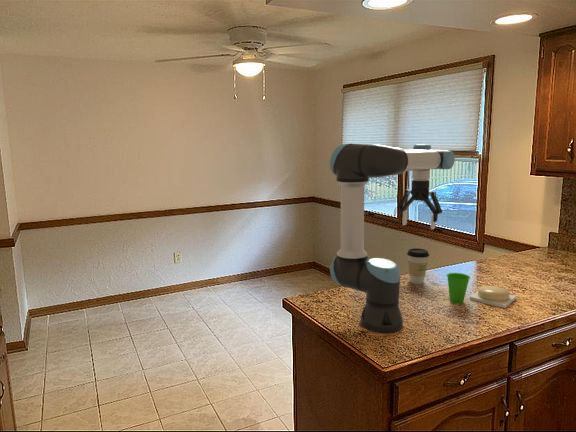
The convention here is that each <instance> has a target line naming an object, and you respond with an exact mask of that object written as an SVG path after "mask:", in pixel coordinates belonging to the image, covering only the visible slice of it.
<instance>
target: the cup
mask: <svg viewBox="0 0 576 432" xmlns="http://www.w3.org/2000/svg"><path fill="white" fill-rule="evenodd" d="M446 278H447V285H448V294H449V302H450V303H452V304H456V305H460V304H463V303H464V301H465V298H466V293H467V290H468V285H469V281H470V279H471V277H470V275H468V274H465V273H462V272H449V273H447V274H446Z"/></svg>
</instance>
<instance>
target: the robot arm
mask: <svg viewBox="0 0 576 432" xmlns="http://www.w3.org/2000/svg"><path fill="white" fill-rule="evenodd" d="M455 159H456V158H455V154H454V152H453V150H448V149H444V150H443V149H442V150H441V149H432V146H431V144H429V143H427V144H426V143H425V144H423V143H421V144H419V143H418V144H414V145H413V149H403V148H401V147H393V146H388V145H383V144H375V143H373V144H370V143H368V144H367V143H366V144H365V143H343V144H339V145H338V146H336V148H335V149H334V150H333V151H332V153H331V155H330V159H329V168H330V170H331V172H332V174H333V175H334V176H336V183H338V184H339V185H340V248H339V250H338V251H337V252H336V255H335V256H334V257H333V258H332V260H331V263H330V266H329V272H330V277H331V278H332V281H333V282H334V283H336V284H337V285H339V286H341V287H343V288H345V289H347V288H348V289H351V290H354V291H359V292H361V293H363V294H364V293H365V304H364V306H363V310H362V312H361V314H360V325H361V327H363V328H364V329H366V330H369V331H371V332H375V333H381V334H382V333H384V334H387V333H395V332H398V331H400V330H402V329H403V327H404V318H403V315H402V312H401V308H400V289H401V288H400V286H401V285H400V284H401V269H400V267H399V265H398V264H397V263H396V262H394V261H392V260H390V259H386V258H380V257H373V258H370V259H369V258H368V256H369V255H368V252H367V251H366V250H365V249H364V248H365V247H364V246H365V241H364V239H365V186H367V184H368V183H369V182H370V178H371V179H374V178H384V177H389V176H397V175H401V174H403V173H404V172H412V173H411V179H412V180H411V190H410V189H409V188H408V189H407V188H406V189H405V190H404V194H403V196H402V198H401V199H400V201H399V203H398V205H397V209H398V210H400V211H401V212H400V213H401V215H400V217H401V218H402V226H405V225H408V210H407V209H408V208H409V206H410V205H411V204H413V202H414V201H420V202H424V203H425V204H426V206H427V207H428V208H429V210H430V211H431V217H430V230H434V229H436V223H437V222H438V217H439V216H438V215H439V214H440V215H441V214H442V213H443V210H442V207H441V204H440V203H439V202H440V201H439V199H438V198H437V191H435V190H434V191H430V178H431V177H430V176H431V170H443V171H444V170H450V169H452V168H453V166H454V164H455ZM409 195H411V197H409ZM429 196H430V198H431V199H430V198H429ZM408 198H409V199H408Z"/></svg>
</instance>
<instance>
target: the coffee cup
mask: <svg viewBox="0 0 576 432" xmlns="http://www.w3.org/2000/svg"><path fill="white" fill-rule="evenodd" d="M406 255H407V257H408V258H407V262H408V263H407V265H408V275H409V282H410V283H411V284H415V285H417V284H418V285H420V284H424V282H425V276H426V272H427V266H428V258H429V257H430V254H429V251H428V250H427V249H424V248H409V249H408V251H407V254H406Z"/></svg>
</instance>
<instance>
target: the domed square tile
mask: <svg viewBox="0 0 576 432" xmlns="http://www.w3.org/2000/svg"><path fill="white" fill-rule="evenodd" d="M469 300H471V301H475V302H479V303H483V304H486V305H491V306H496V307H500V308H503V309H506V308H507V307H508V306H510V304H512V303H513V302H514V301H515V300H517V295H514V294H510V291H509V290H508V289H506V288H503V287H500V286H496V285H495V286H494V285H482V286H479V287H478V288H477V291H476V292H474V293H473V294H471V295H470V296H469Z"/></svg>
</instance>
